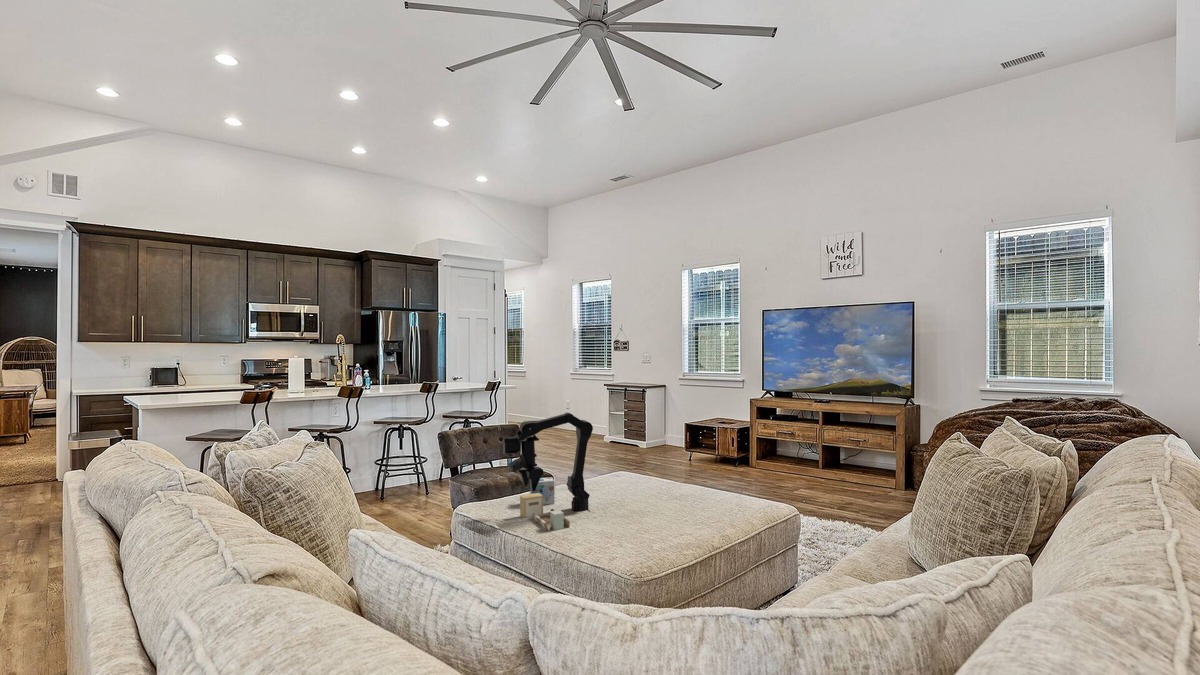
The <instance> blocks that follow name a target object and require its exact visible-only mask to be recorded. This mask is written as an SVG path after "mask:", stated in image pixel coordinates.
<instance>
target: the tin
mask: <svg viewBox="0 0 1200 675" xmlns="http://www.w3.org/2000/svg"><path fill="white" fill-rule="evenodd" d="M549 513H550V514H549V515H550V527H551V528H552V529H554V530H553V531H558V530H564V529H565V528H564V517H565V516H564V515H565V513H564V512H563V511H562V510H561V509H557V510H555V511H551V510H550V511H549ZM563 528H564V529H563Z"/></svg>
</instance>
